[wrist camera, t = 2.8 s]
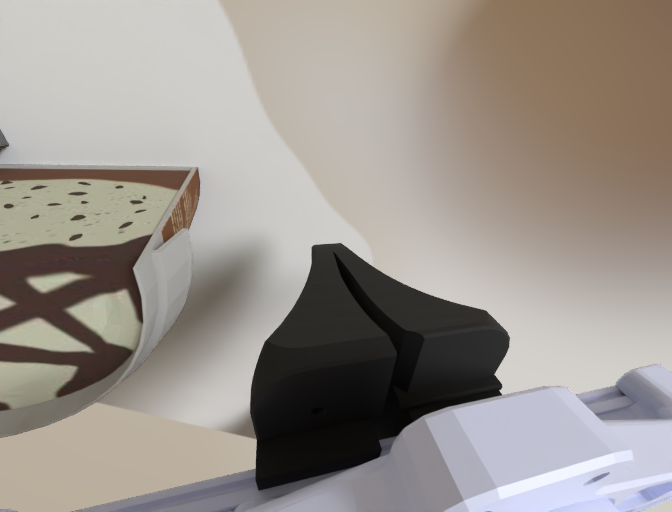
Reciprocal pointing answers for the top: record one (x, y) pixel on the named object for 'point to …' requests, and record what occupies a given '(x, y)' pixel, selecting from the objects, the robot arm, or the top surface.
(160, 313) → the food container
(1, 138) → the bookend
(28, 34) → the top surface
